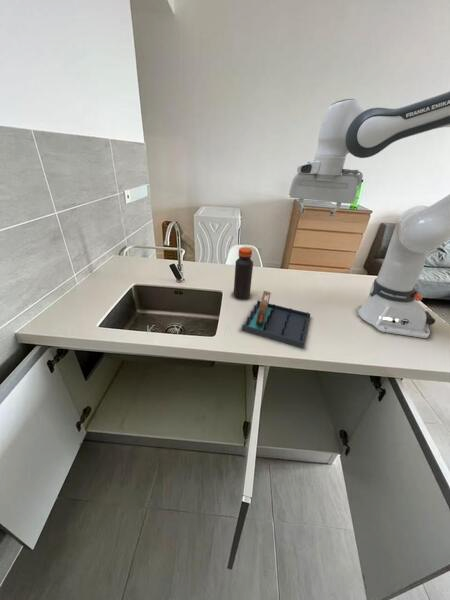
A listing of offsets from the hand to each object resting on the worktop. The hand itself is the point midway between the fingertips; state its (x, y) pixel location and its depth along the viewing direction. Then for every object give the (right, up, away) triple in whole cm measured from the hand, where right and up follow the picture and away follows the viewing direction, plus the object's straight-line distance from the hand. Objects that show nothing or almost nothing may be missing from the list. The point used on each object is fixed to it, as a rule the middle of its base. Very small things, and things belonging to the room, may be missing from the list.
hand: (316, 214), depth 81 cm
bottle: (-24, -27, +20) cm, 41 cm away
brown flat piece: (-17, -35, +6) cm, 39 cm away
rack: (-12, -37, +4) cm, 39 cm away
